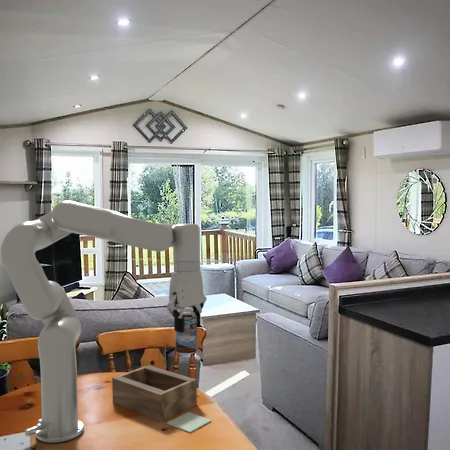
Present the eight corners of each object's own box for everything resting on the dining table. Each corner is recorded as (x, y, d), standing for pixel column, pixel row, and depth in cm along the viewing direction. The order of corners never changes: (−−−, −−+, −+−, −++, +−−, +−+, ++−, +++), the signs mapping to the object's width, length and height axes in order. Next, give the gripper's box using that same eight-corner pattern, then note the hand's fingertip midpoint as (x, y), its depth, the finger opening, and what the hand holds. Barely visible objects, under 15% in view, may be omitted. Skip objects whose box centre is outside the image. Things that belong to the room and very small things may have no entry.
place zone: (190, 433, 132) (190, 431, 132) (167, 423, 138) (167, 422, 138) (211, 421, 139) (211, 420, 139) (188, 413, 145) (188, 411, 145)
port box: (161, 421, 139) (160, 394, 139) (112, 402, 154) (112, 377, 153) (196, 404, 151) (196, 379, 151) (148, 388, 165) (148, 365, 165)
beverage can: (174, 358, 135) (172, 316, 133) (177, 348, 142) (176, 309, 141) (196, 357, 134) (195, 316, 133) (198, 348, 142) (197, 308, 141)
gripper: (197, 262, 146) (198, 321, 147) (155, 269, 133) (156, 333, 133) (216, 264, 141) (216, 325, 142) (175, 271, 128) (175, 337, 129)
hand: (187, 328), depth 138 cm, fingers closed on beverage can, 6 cm apart
